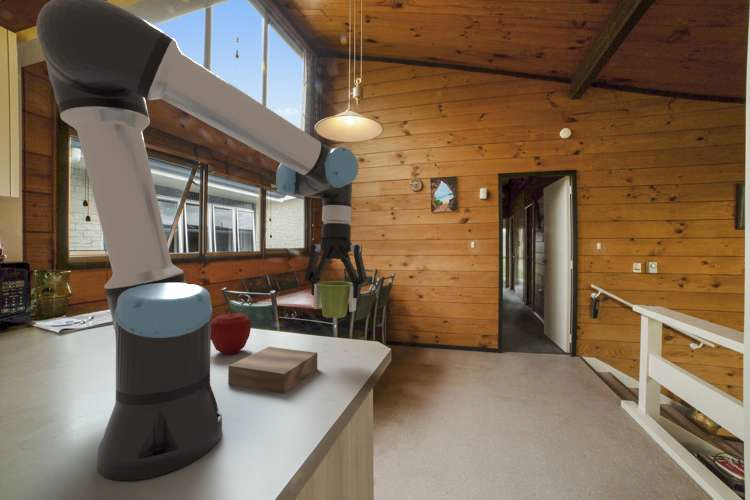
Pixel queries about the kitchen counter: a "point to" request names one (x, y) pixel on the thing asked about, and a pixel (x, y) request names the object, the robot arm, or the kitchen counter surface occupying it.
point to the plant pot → (334, 298)
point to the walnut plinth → (273, 369)
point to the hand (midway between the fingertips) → (334, 309)
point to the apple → (230, 332)
